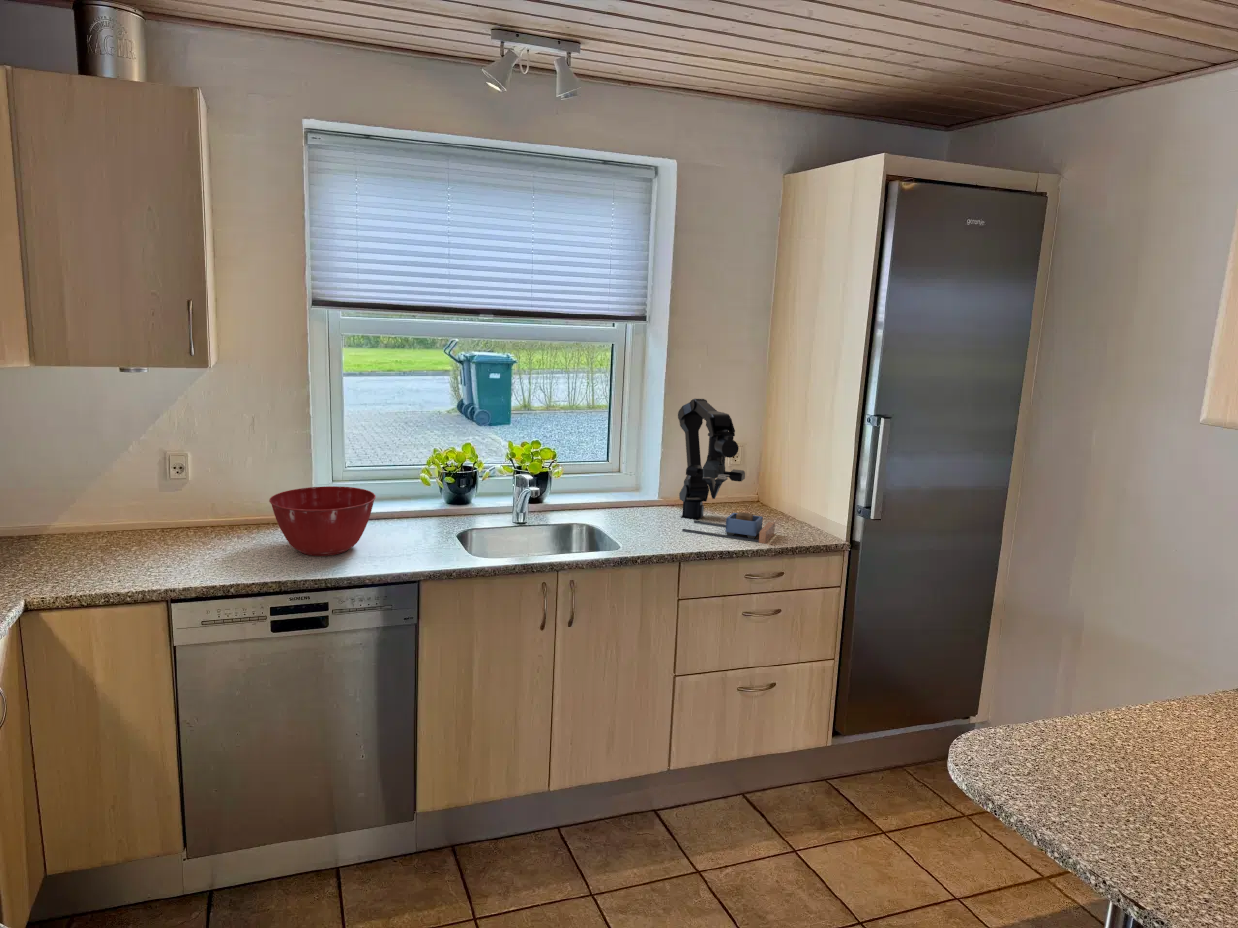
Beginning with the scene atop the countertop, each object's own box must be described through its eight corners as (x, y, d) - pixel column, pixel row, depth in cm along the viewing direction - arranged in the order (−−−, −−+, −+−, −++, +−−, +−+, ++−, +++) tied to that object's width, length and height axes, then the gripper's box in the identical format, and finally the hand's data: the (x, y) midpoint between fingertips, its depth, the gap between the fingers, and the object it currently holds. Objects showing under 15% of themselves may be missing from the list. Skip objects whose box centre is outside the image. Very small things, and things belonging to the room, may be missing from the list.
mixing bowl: (287, 569, 228) (286, 512, 226) (258, 542, 251) (257, 490, 248) (390, 555, 245) (390, 502, 242) (355, 531, 267) (355, 482, 265)
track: (682, 532, 285) (682, 520, 285) (694, 523, 298) (695, 511, 297) (764, 544, 276) (765, 532, 275) (773, 534, 288) (774, 522, 288)
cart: (725, 535, 283) (726, 518, 282) (731, 529, 291) (733, 512, 290) (755, 539, 279) (756, 522, 278) (761, 533, 287) (762, 516, 286)
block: (735, 528, 283) (736, 514, 283) (738, 525, 287) (739, 512, 287) (748, 530, 282) (749, 516, 281) (752, 527, 286) (753, 513, 285)
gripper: (682, 452, 280) (679, 499, 283) (739, 458, 273) (735, 507, 276) (692, 447, 290) (689, 493, 293) (747, 453, 284) (743, 500, 287)
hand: (713, 498), depth 287 cm, fingers closed
